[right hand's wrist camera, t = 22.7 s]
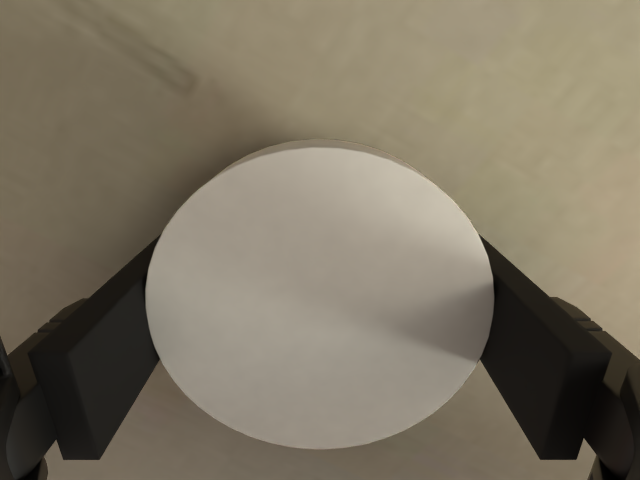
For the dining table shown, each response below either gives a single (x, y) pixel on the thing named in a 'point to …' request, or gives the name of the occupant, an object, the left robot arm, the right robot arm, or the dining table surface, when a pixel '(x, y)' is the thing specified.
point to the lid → (319, 295)
